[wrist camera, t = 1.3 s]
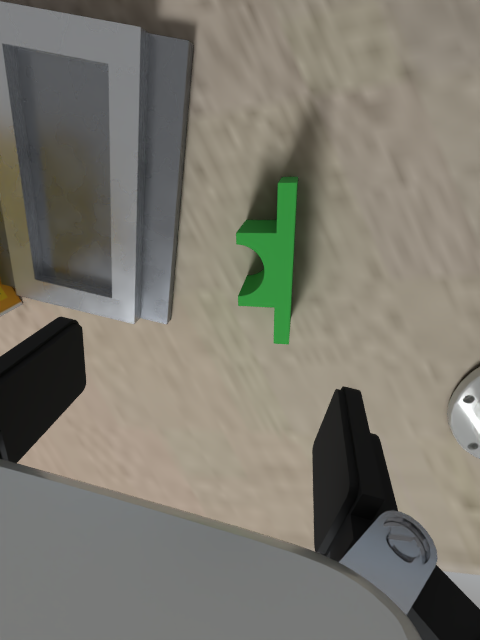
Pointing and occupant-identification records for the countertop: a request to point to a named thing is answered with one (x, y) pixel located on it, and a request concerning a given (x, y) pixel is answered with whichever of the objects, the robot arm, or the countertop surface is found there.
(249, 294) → the pipe clamp
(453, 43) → the countertop surface
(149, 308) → the groove block
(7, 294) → the packaging box
